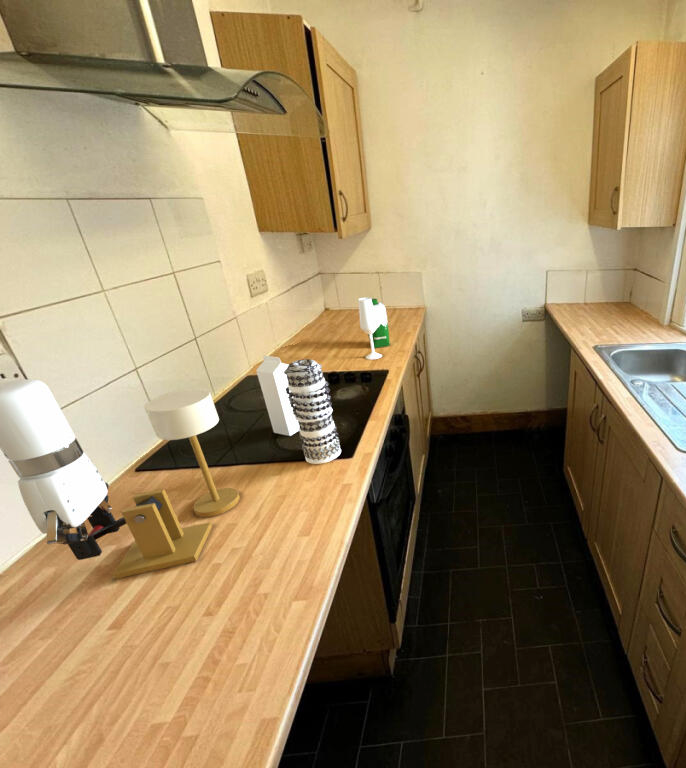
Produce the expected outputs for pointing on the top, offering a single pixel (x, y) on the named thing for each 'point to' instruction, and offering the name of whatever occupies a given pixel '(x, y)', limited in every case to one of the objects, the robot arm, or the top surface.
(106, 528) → the switch lever
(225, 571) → the top surface
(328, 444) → the decorative candle
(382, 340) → the milk carton
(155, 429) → the table lamp
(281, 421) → the milk
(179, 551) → the switch bracket
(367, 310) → the champagne flute
